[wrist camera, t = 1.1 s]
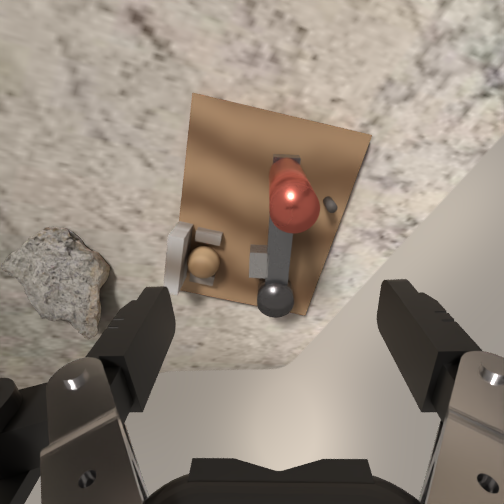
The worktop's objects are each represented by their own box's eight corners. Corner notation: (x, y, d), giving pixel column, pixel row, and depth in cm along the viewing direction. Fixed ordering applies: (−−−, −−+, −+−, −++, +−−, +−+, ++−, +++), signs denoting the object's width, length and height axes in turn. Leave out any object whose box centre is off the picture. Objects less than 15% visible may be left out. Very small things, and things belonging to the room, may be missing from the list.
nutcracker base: (195, 93, 28) (180, 90, 23) (368, 134, 29) (387, 139, 24) (174, 283, 38) (161, 308, 33) (304, 309, 39) (309, 337, 34)
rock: (59, 226, 31) (120, 339, 36) (88, 214, 35) (139, 318, 40) (-24, 248, 35) (42, 346, 40) (10, 236, 39) (66, 327, 44)
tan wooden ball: (193, 238, 33) (185, 252, 30) (224, 244, 34) (219, 259, 30) (189, 264, 35) (181, 281, 32) (219, 271, 35) (214, 287, 32)
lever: (290, 303, 35) (300, 390, 24) (248, 300, 35) (240, 386, 24) (307, 155, 27) (332, 186, 17) (254, 153, 28) (245, 182, 17)
